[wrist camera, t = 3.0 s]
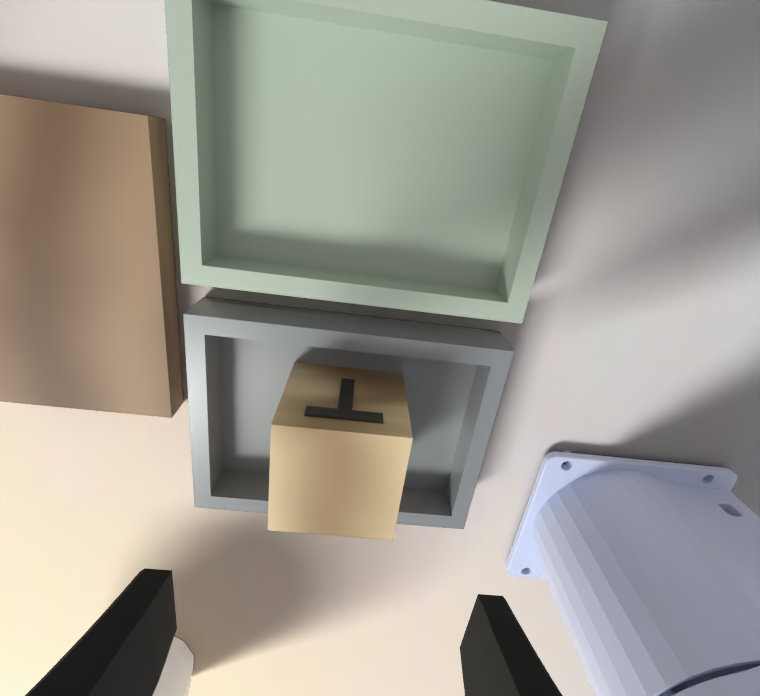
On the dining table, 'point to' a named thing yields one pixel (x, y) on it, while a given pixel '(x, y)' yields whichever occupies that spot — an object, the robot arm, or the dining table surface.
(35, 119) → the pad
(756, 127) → the dining table surface
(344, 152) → the sage tray
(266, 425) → the gray tray
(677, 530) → the robot arm
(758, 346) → the dining table surface
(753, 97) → the dining table surface
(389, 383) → the letter cube
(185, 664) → the foam cup
